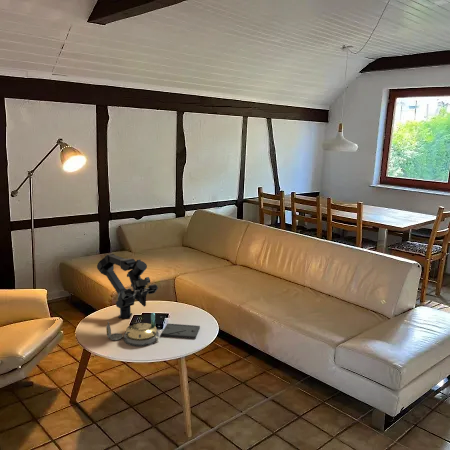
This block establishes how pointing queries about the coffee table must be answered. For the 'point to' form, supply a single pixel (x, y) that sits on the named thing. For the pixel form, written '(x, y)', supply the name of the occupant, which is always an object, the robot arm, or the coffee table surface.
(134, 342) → the dark grey round disc
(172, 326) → the picture frame
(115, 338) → the pocket watch
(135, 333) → the tan round piece
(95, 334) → the coffee table surface
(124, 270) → the robot arm
